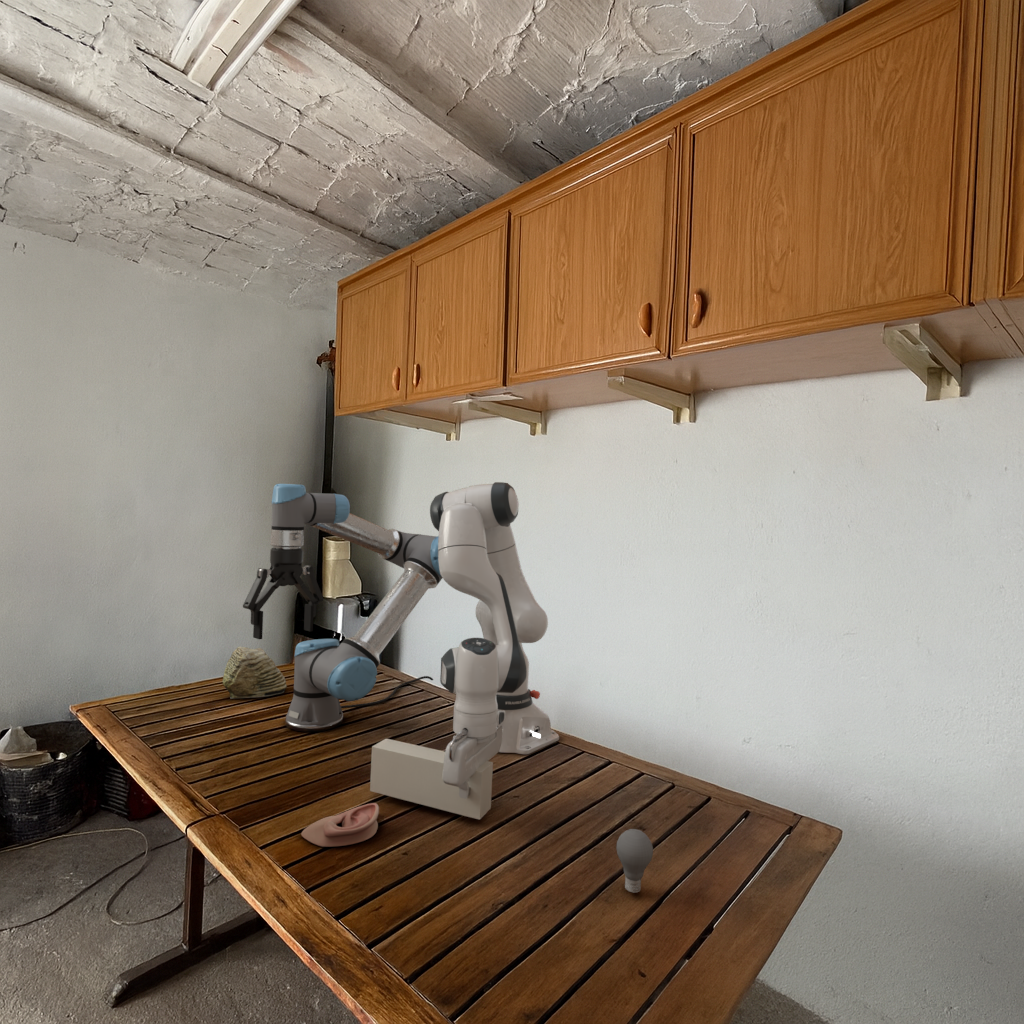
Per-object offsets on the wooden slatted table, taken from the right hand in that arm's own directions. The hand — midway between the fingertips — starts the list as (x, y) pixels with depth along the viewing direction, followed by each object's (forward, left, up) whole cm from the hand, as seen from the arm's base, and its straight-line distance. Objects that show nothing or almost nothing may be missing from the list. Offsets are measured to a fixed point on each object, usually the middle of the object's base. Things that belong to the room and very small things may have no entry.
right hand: (472, 789), depth 127 cm
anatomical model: (+23, -10, -6) cm, 26 cm away
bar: (+5, -8, -4) cm, 11 cm away
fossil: (+11, -101, -6) cm, 101 cm away
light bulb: (-8, +35, -6) cm, 36 cm away
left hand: (+20, -52, +23) cm, 61 cm away
